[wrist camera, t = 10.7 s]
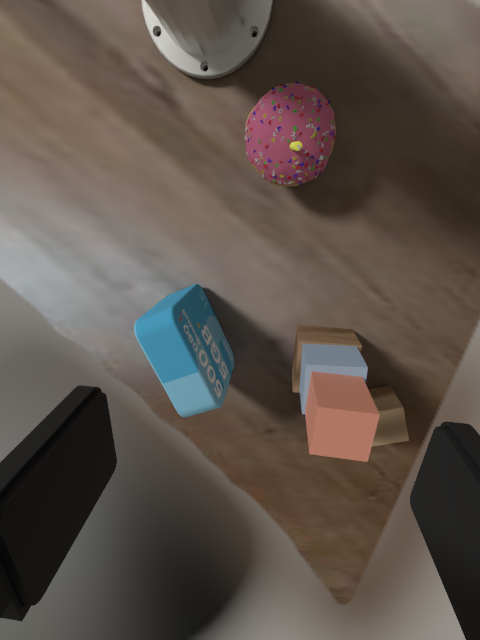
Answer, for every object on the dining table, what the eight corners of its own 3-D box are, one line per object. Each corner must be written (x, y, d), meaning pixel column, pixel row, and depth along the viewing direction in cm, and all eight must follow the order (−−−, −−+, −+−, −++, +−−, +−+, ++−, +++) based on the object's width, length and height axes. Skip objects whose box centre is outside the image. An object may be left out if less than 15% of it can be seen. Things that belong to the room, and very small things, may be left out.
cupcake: (338, 171, 34) (365, 155, 23) (263, 200, 36) (255, 199, 25) (316, 83, 32) (335, 17, 20) (237, 120, 33) (215, 78, 22)
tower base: (297, 324, 41) (299, 340, 36) (352, 329, 40) (362, 345, 35) (291, 371, 43) (292, 392, 39) (343, 377, 42) (351, 398, 38)
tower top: (302, 343, 36) (305, 364, 32) (356, 346, 35) (367, 367, 31) (299, 388, 38) (301, 414, 34) (350, 391, 38) (360, 418, 33)
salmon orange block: (311, 371, 32) (317, 406, 26) (362, 376, 31) (379, 414, 26) (304, 412, 33) (309, 454, 28) (352, 418, 33) (367, 461, 27)
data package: (236, 359, 44) (221, 413, 32) (207, 369, 45) (183, 424, 33) (199, 280, 40) (168, 310, 29) (169, 293, 41) (128, 326, 30)
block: (351, 392, 43) (360, 414, 38) (389, 385, 42) (403, 407, 37) (358, 421, 45) (367, 447, 40) (395, 415, 44) (409, 440, 39)
